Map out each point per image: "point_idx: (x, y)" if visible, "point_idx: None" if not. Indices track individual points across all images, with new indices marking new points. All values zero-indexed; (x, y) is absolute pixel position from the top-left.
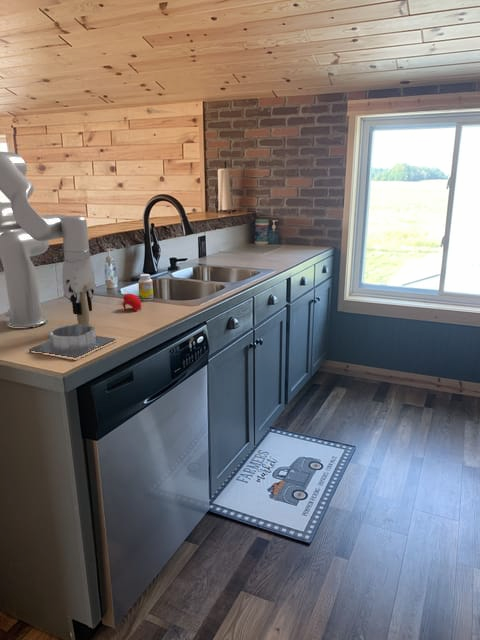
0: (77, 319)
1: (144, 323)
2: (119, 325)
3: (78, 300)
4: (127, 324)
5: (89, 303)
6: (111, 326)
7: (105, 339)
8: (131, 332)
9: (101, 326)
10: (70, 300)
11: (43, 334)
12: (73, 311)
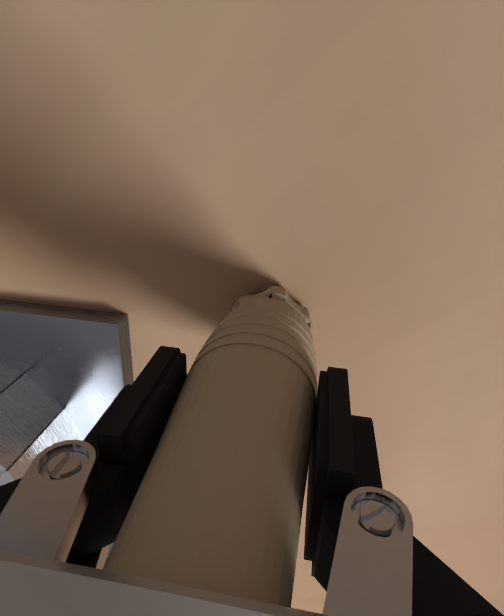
0: (216, 328)
1: (494, 593)
2: (418, 488)
3: (84, 559)
4: (453, 521)
5: (307, 515)
6: (383, 453)
7: (110, 547)
8: (304, 579)
9: (366, 396)
10: (9, 486)
11: (31, 92)
12: (155, 360)
